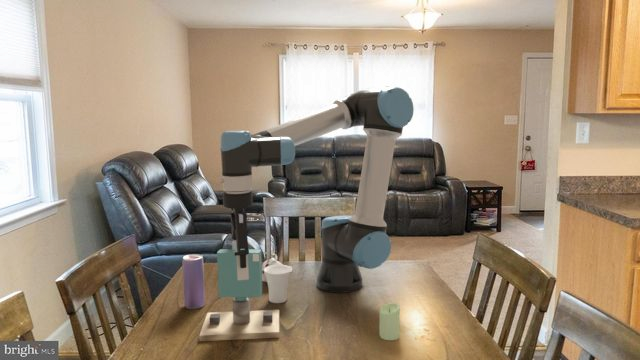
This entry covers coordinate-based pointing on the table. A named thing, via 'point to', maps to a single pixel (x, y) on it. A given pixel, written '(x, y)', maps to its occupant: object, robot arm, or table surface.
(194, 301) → the beverage can
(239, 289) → the teal rectangular panel
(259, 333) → the post base
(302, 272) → the table surface
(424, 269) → the table surface
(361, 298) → the table surface
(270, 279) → the cup
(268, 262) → the white ceramic figurine
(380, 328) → the candle
